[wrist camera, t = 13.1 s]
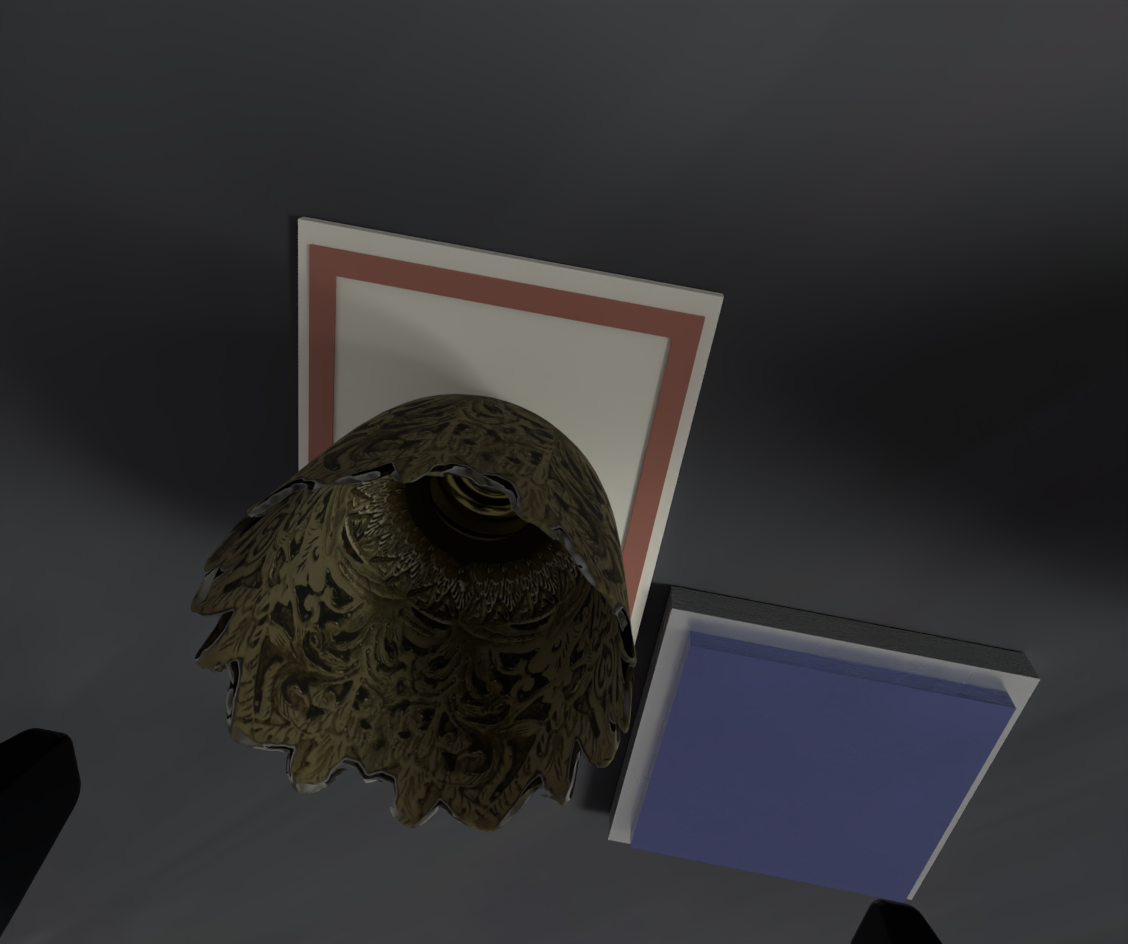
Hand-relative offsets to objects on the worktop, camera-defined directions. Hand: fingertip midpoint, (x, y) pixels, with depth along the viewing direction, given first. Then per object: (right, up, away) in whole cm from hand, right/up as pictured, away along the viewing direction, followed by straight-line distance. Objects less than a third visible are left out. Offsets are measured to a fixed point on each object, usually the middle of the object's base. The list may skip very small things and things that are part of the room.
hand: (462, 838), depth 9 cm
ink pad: (+8, -4, +15) cm, 17 cm away
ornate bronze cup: (-1, +4, +11) cm, 12 cm away
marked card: (-1, +5, +12) cm, 12 cm away
